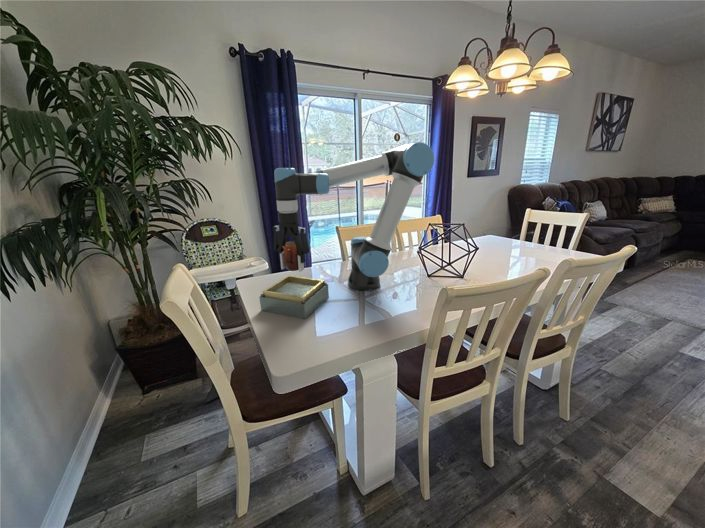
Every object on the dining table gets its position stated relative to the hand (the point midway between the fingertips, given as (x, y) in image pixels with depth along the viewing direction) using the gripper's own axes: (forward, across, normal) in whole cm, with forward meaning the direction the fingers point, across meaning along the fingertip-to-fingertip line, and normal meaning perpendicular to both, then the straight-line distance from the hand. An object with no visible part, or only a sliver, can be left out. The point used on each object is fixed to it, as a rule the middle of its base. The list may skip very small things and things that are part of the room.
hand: (292, 269), depth 114 cm
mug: (0, 0, 0) cm, 1 cm away
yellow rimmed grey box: (+16, +1, 0) cm, 16 cm away
